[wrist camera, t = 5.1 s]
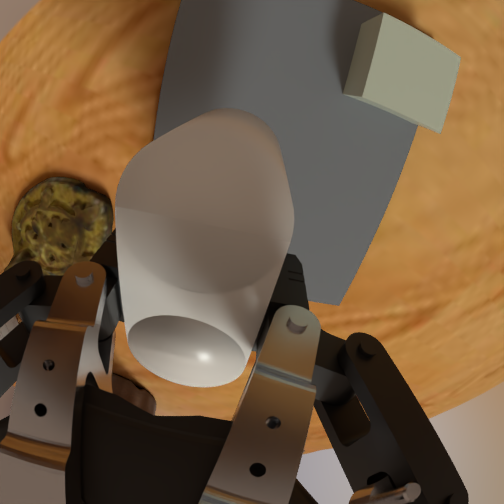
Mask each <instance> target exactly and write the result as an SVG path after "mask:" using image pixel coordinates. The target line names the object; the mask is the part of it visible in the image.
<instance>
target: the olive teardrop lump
mask: <svg viewBox="0 0 504 504" xmlns="http://www.w3.org/2000/svg"><path fill="white" fill-rule="evenodd" d="M112 225H113V210H112V205H111V202H110V199H109V198H107V197H106V196H105V195H103V194H100V193H97V192H96V191H94V190H91V189H88V188H86V187H85V185H84V183H82V182H81V181H80V180H76V179H72V178H66V177H52V178H48V179H46V180H44V181H42V182H41V183H39V184H37V185H36V186H34V187H33V188H32V189H31V190H30V191H28V192H27V193H26V194H25V195H24V196H23V198H22V199H21V200H20V202H19V204H18V206H17V208H16V210H15V212H14V215H13V220H12V242H13V249H14V255H13V258H12V259H11V261H10V263H9V265H8V266H7V267H6V268H5V269H4V272H5V271H6V270H8V269H9V268H11V267H12V266H14V265H15V264H17V263H19V262H22V261H26V260H32V261H36V262H38V263H39V264H40V265H41V267H42V271H43V274H44V275H64V273H65V271H66V270H67V269H68V268H69V267H70V266H72V265H74V264H76V263H79V262H84V261H89V260H90V259H91V258H92V257H93V255H94V254H95V253H96V252H97V250H98V249H99V248H100V247H101V245H102V244H103V243H104V242H105V241H106V239H107V238H108V237H109V236H110V235H111V233H112Z"/></svg>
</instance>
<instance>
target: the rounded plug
mask: <svg viewBox="0 0 504 504" xmlns="http://www.w3.org/2000/svg"><path fill="white" fill-rule="evenodd" d="M115 220H116V244H117V259H118V271H119V282H120V291H121V300H122V308H123V315H124V322H125V328H126V335H127V341H128V345H129V348H130V350H131V352H132V354H133V355H134V357H135V358H136V359H137V360H138V361H139V362H140V363H141V364H142V365H143V366H144V367H145V368H146V369H148V370H149V371H151V372H152V373H154V374H156V375H157V376H159V377H161V378H164V379H166V380H168V381H171V382H174V383H178V384H181V385H186V386H193V387H214V386H220V385H224V384H227V383H229V382H231V381H233V380H235V379H236V378H238V377H239V376H240V375H241V374H242V372H243V371H244V369H245V366H246V364H247V361H248V358H249V356H250V353H251V351H252V348H253V345H254V343H255V340H256V337H257V335H258V332H259V329H260V326H261V324H262V321H263V318H264V316H265V313H266V310H267V307H268V305H269V302H270V299H271V296H272V293H273V291H274V288H275V285H276V282H277V279H278V277H279V274H280V271H281V268H282V265H283V262H284V259H285V256H286V254H287V251H288V248H289V245H290V242H291V238H292V234H293V228H294V208H293V203H292V198H291V193H290V189H289V184H288V180H287V175H286V171H285V166H284V162H283V158H282V154H281V149H280V145H279V143H278V140H277V138H276V136H275V134H274V133H273V131H272V130H271V129H270V127H269V126H268V125H267V124H266V123H265V122H264V121H262V120H261V119H260V118H259V117H257V116H255V115H253V114H251V113H249V112H247V111H243V110H240V109H233V108H222V109H215V110H212V111H209V112H206V113H204V114H202V115H200V116H198V117H196V118H194V119H192V120H190V121H188V122H186V123H184V124H182V125H180V126H179V127H177V128H175V129H173V130H171V131H170V132H168V133H166V134H164V135H162V136H161V137H159V138H157V139H155V140H154V141H152V142H151V143H149V144H148V145H146V146H145V147H144V148H142V149H141V150H140V151H139V152H138V153H137V154H136V155H135V156H134V157H133V158H132V160H131V161H130V162H129V164H128V165H127V166H126V168H125V170H124V172H123V174H122V176H121V178H120V181H119V184H118V188H117V193H116V202H115Z"/></svg>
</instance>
